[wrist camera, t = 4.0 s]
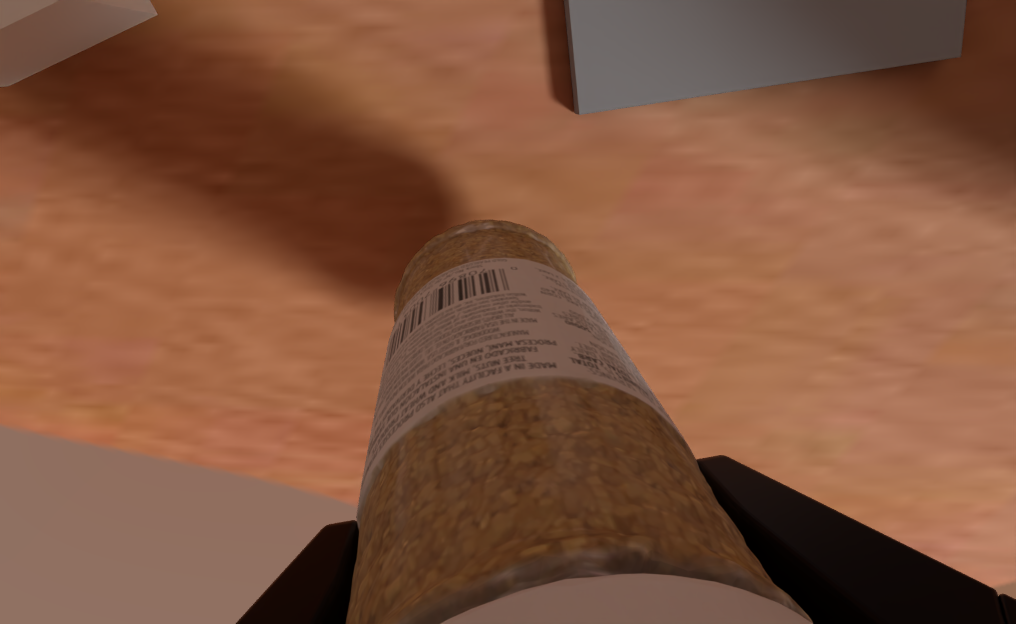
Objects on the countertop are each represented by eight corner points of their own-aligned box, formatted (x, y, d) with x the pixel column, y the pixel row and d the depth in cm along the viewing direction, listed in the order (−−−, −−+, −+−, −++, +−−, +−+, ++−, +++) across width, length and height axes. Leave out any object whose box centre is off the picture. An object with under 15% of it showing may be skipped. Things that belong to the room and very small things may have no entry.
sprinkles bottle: (428, 409, 17) (393, 1431, 4) (367, 244, 15) (1, 1111, 3) (599, 359, 17) (1083, 1235, 4) (556, 188, 15) (1143, 777, 2)
